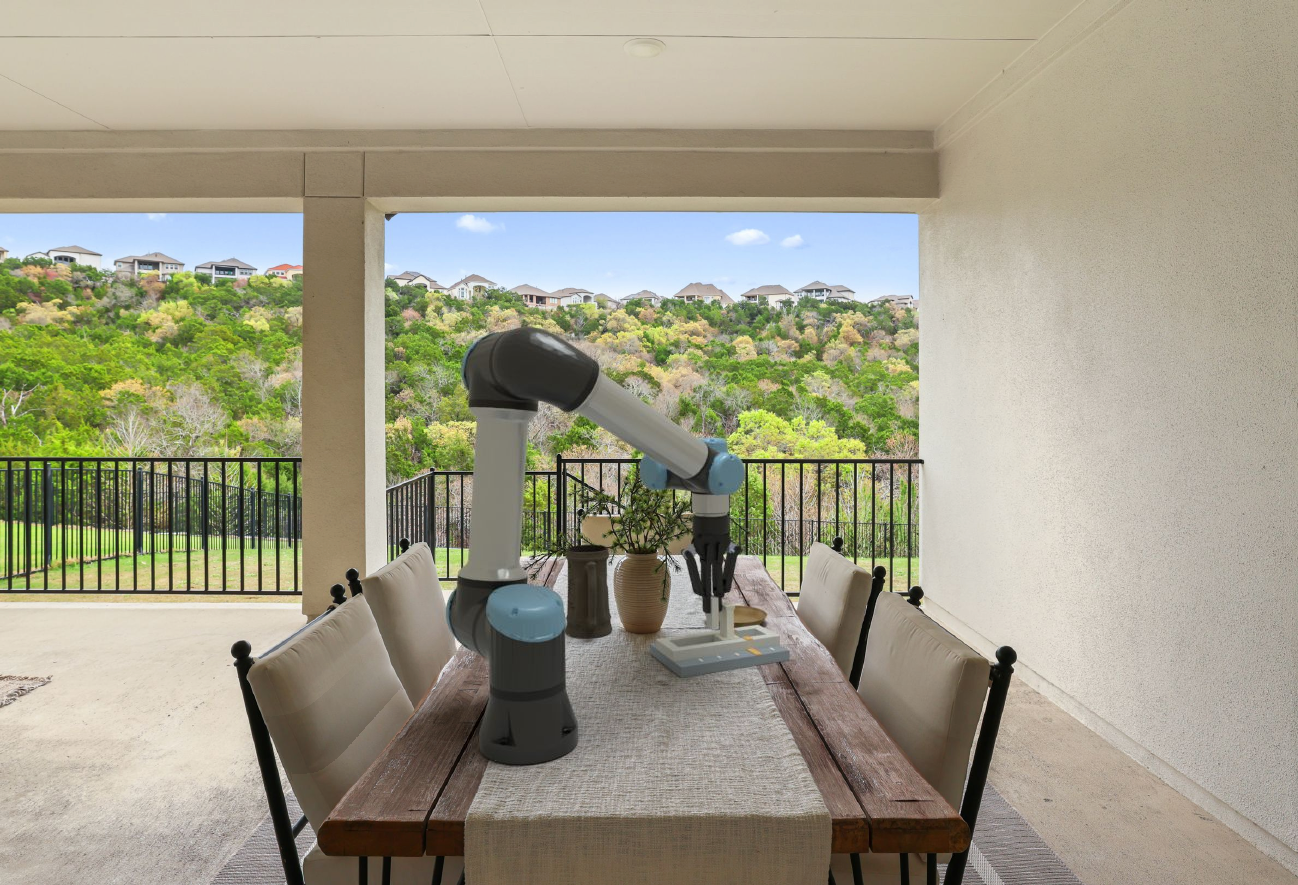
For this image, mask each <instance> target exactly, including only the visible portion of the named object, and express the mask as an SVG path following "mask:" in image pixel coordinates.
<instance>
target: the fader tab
mask: <svg viewBox="0 0 1298 885" xmlns="http://www.w3.org/2000/svg"><path fill="white" fill-rule="evenodd" d="M735 606H736V604H732V603H731V602H729V601H722V611H721V612H720V628H719V630H720V634H716V635H714V642H718V641H725V640H731V639H738V638H740V637H738V636H736V635H735V634H734V610H735Z"/></svg>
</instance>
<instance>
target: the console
mask: <svg viewBox="0 0 1298 885" xmlns="http://www.w3.org/2000/svg"><path fill="white" fill-rule="evenodd" d="M716 634H720V629H718V630H710V631H705V632H698V633H689V634H684V635H683V634H682V635H675V636H669V637H661V638H656V639H655V642H654V643H649V654H650V655H651V656H653V657H654V658H655V659H657V660H658V661H659V662H660V663H662V664H663V665H664V666H666V667H667V669H670V671H672V672H673V673H674V674H676V675H677V676H679V677H680V678H682V679H683V678H688V677H694V676H701V675H706V674H712V673H718V672H719V673H720V672H724V671H729V670H731V671H732V670H738V669H744V668H751V667H755V666H762V665H769V664H773V663H781V662H785V661H790V658H791V657H790V656H791V655H790V654H791V653H790V650H789V649H787V648H786V647H784V646H782V645H781V636H780V635H779V634H777V633H775V632H774V631H771V630H769V629H767V628H765V627H763V626H761V624H760V625H754V626H746V627H739V628H734V634H735V635H736V636H738V637H740V638H738V639H731V640H725V641H718V642H714V635H716Z"/></svg>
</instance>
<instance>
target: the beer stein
mask: <svg viewBox="0 0 1298 885" xmlns="http://www.w3.org/2000/svg"><path fill="white" fill-rule="evenodd" d="M609 558H610V553H609V548H608V546H605V545H604V544H603V545H601V544H579V545H573V546H570V547H568V548H566V553H565V559H566V560H567V604H566V605H567V606H566V607H567V610H566V613H567V614H566V616H565V617H566V625H565V635H568V636H569V637H571V638H576V639H577V638H578V639H595V638H602V637H605V636H609V634H611V633H612V632H613V626H612V623H611V621H612V620H611V619H612V615H611V612H610V600H609V599H610V598H609V597H610V596H609V587H608V560H609Z"/></svg>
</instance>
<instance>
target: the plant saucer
mask: <svg viewBox="0 0 1298 885" xmlns="http://www.w3.org/2000/svg"><path fill="white" fill-rule="evenodd" d="M704 615H705V617H706V613H704ZM767 617H768V612H767V611H765V610H764V609H761V608H758V607H754V606H747V605H735V610H734V628H739V627H746V626H754V625H760V626H761V624H762V623H763V622H764V621H765V620H766V618H767ZM719 629H720V612H719Z"/></svg>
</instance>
